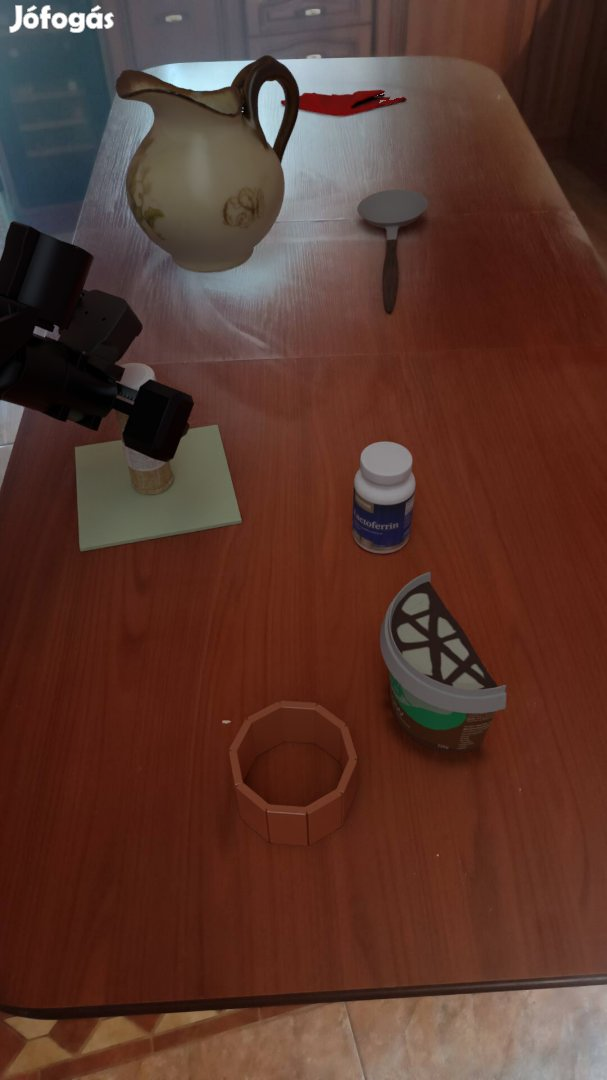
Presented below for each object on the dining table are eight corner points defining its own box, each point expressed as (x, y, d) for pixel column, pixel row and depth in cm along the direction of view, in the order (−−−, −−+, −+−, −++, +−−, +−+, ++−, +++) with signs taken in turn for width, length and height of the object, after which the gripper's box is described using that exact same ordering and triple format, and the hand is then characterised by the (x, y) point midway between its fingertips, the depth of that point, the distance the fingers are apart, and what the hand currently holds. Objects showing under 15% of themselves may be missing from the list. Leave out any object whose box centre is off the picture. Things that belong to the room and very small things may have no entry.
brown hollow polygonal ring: (248, 860, 57) (242, 829, 53) (227, 747, 63) (221, 712, 59) (367, 831, 58) (370, 799, 54) (336, 723, 64) (336, 688, 60)
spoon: (427, 205, 129) (427, 187, 127) (430, 320, 107) (430, 301, 105) (360, 210, 131) (358, 192, 129) (349, 324, 109) (347, 305, 107)
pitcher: (112, 279, 116) (73, 89, 98) (177, 211, 132) (153, 36, 114) (257, 299, 111) (244, 103, 93) (307, 226, 127) (304, 46, 109)
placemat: (80, 551, 78) (79, 548, 78) (75, 450, 89) (74, 446, 89) (242, 523, 80) (241, 519, 80) (218, 427, 91) (217, 424, 91)
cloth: (272, 114, 162) (272, 102, 161) (286, 92, 172) (286, 81, 170) (401, 120, 159) (401, 107, 157) (407, 97, 168) (408, 85, 166)
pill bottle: (344, 548, 77) (346, 470, 70) (360, 509, 81) (363, 432, 74) (402, 561, 76) (410, 483, 69) (416, 521, 80) (424, 443, 73)
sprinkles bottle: (138, 466, 86) (114, 359, 76) (179, 470, 85) (160, 362, 76) (125, 495, 83) (98, 387, 73) (168, 498, 82) (146, 390, 73)
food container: (352, 665, 68) (354, 588, 61) (417, 644, 69) (427, 566, 62) (416, 792, 60) (428, 721, 53) (489, 765, 61) (510, 691, 54)
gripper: (162, 311, 61) (256, 365, 75) (-6, 253, 68) (109, 312, 82) (111, 448, 62) (214, 476, 76) (-48, 376, 69) (72, 413, 83)
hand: (150, 414), depth 79 cm, fingers open, 9 cm apart
